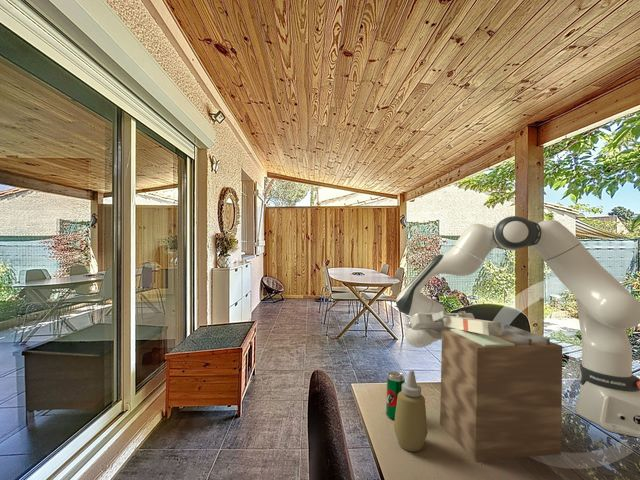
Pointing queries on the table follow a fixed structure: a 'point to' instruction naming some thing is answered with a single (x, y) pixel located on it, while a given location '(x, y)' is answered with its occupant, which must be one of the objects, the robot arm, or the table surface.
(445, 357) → the cabinet
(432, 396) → the table surface
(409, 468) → the table surface
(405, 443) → the squeeze bottle
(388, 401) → the soda can
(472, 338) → the plate
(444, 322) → the red-banded cream beam
